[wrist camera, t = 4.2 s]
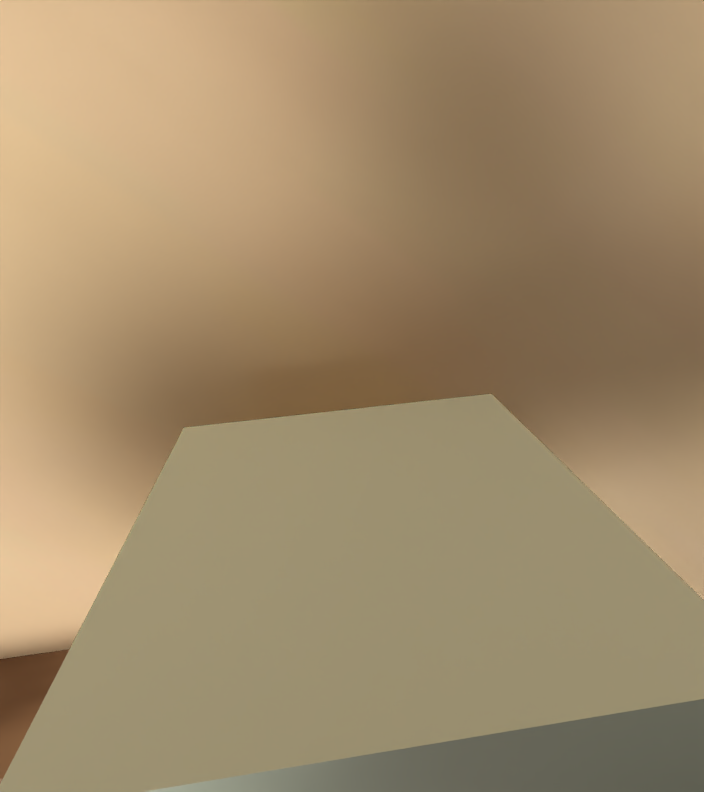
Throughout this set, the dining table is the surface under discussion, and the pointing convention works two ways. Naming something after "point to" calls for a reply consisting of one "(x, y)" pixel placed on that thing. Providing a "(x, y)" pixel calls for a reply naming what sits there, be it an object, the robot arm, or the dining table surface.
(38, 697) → the walnut block
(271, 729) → the sage cube
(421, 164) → the dining table surface
